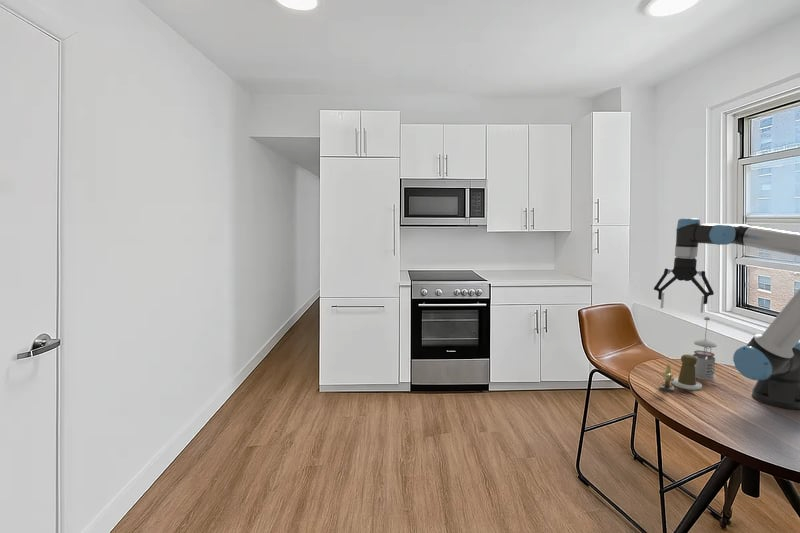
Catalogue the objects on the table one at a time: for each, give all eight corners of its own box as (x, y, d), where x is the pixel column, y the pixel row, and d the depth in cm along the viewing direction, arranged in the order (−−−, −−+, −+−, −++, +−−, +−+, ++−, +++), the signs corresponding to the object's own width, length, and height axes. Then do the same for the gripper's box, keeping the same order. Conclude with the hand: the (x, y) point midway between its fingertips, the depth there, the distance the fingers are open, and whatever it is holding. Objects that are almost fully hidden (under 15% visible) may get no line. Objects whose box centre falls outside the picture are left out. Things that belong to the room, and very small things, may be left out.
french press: (685, 375, 188) (689, 316, 185) (693, 368, 196) (698, 312, 193) (712, 381, 181) (718, 320, 178) (720, 374, 189) (725, 316, 186)
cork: (698, 385, 173) (701, 358, 172) (681, 384, 174) (683, 357, 173) (692, 380, 179) (694, 353, 177) (675, 379, 180) (677, 352, 179)
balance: (674, 385, 176) (676, 358, 175) (672, 395, 167) (674, 366, 165) (661, 383, 179) (663, 356, 177) (658, 392, 169) (660, 364, 168)
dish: (702, 384, 178) (702, 381, 178) (701, 392, 170) (701, 389, 170) (672, 378, 183) (673, 376, 183) (670, 386, 175) (671, 383, 175)
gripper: (724, 258, 174) (719, 312, 176) (650, 254, 188) (647, 304, 190) (724, 260, 168) (719, 315, 170) (648, 256, 182) (645, 307, 184)
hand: (681, 309), depth 180 cm, fingers open, 13 cm apart
